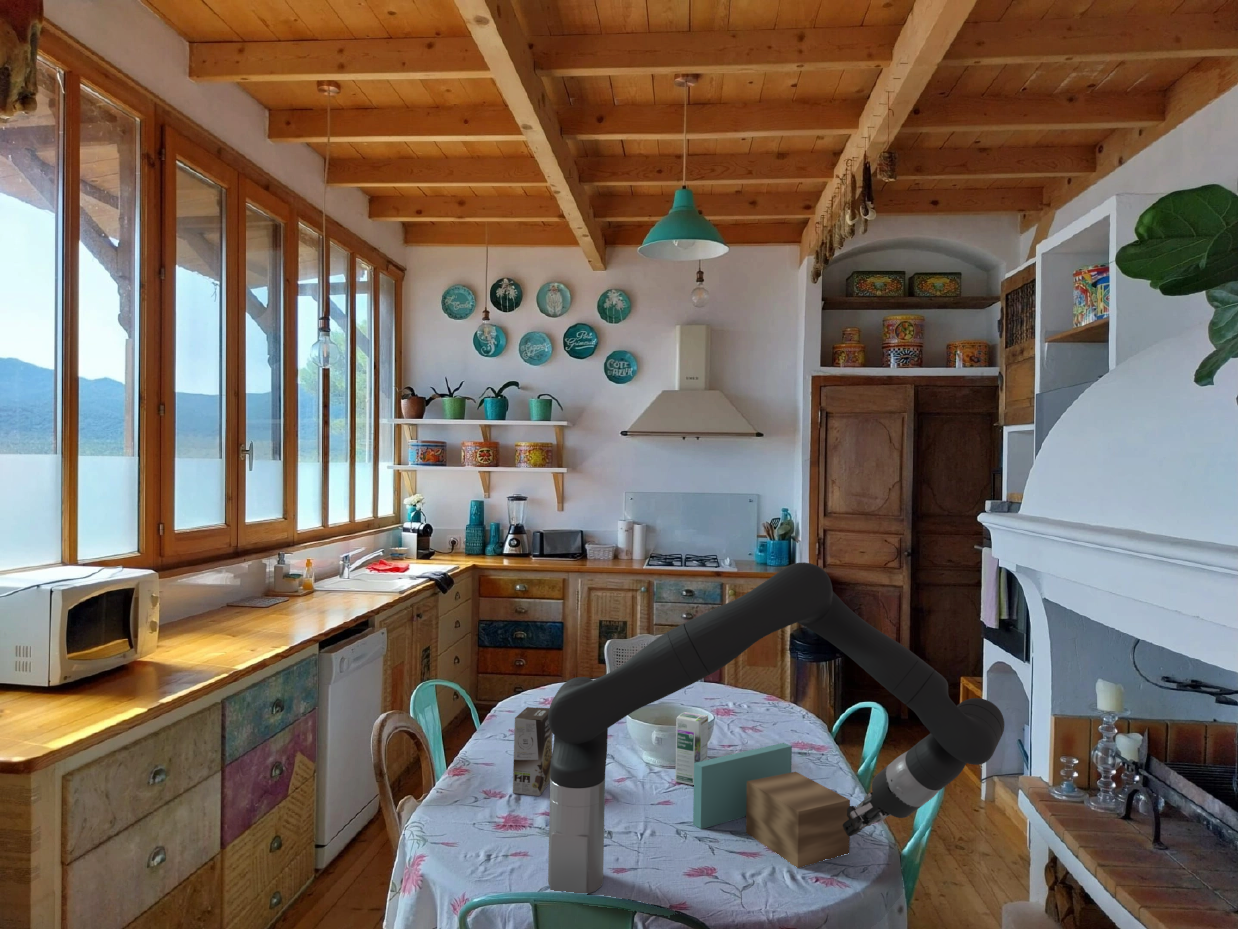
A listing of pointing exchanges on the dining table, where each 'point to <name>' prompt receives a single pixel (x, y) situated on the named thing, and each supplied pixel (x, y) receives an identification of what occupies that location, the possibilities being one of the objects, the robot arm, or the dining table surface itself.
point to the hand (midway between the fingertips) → (847, 830)
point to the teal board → (733, 782)
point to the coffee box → (532, 751)
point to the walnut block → (797, 818)
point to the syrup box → (690, 745)
